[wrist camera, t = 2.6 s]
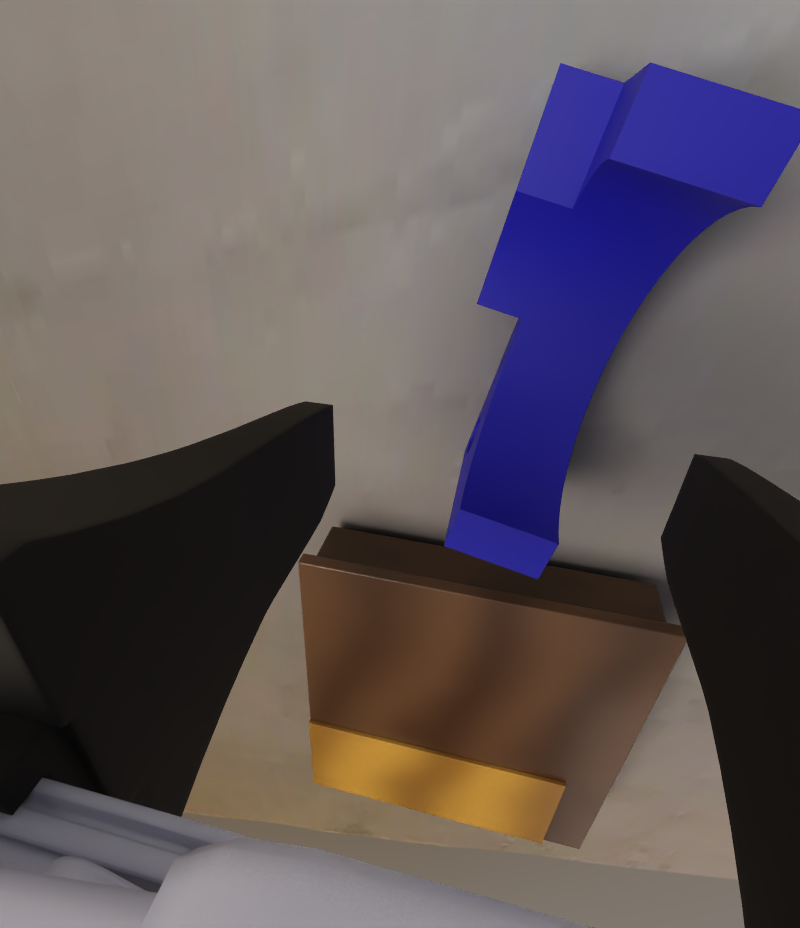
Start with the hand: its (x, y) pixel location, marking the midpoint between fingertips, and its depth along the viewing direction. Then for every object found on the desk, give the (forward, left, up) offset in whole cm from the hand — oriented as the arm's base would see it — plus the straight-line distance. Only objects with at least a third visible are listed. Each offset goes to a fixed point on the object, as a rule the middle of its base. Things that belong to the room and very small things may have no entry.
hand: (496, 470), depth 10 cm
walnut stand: (0, +18, -9) cm, 20 cm away
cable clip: (-1, -1, -9) cm, 9 cm away
